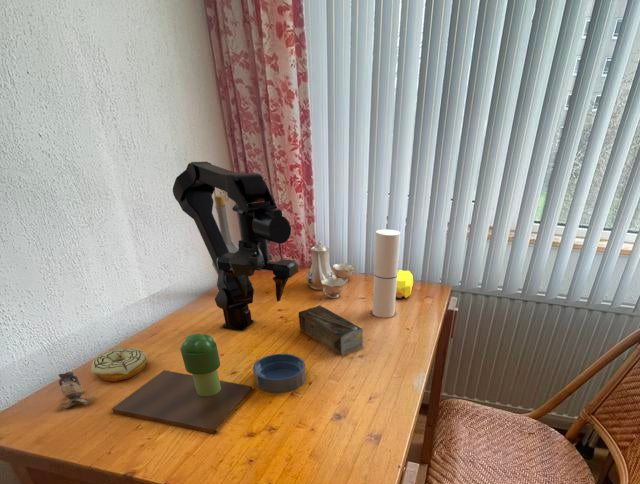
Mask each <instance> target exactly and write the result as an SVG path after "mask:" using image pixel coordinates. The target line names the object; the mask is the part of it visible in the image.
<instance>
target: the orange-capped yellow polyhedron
mask: <svg viewBox="0 0 640 484" xmlns="http://www.w3.org/2000/svg"><path fill="white" fill-rule="evenodd" d="M413 285H414V277H413V274H412V273H411V271H410V270H403V269H398V273H397V286H396V298H398V299H402V298H403V297H404V298H405V299H408V297H410V296H411V294H412V291H413V290H412V289H413Z"/></svg>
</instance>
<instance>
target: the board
mask: <svg viewBox="0 0 640 484" xmlns="http://www.w3.org/2000/svg"><path fill="white" fill-rule="evenodd" d="M219 381H220V385H221V390H220V391H219V392H218V393H217V394H215V395H212V396H200V395H198V393H197V391H196V387H195V383H194V379H193V376H192V374H189V373H188V374H186V373H181V372H177V371H171V370H165V369H163V370H162V371H161V372H159V373H158V374H157V375H155V376H154V377H153V378H151V379H150V380H148V381H147V382H146V383H144V384H143V385H141V386H140V387H139V388H137V389H136V390H135V391H133V392H132V393H131V394H129V395H128V396H126V397H125V398H124V399H122V401H120V402H118V403H117V404H115V405H114V406H113V407H112V408H111V411H112V413H113V414H115V415H120V416H126V417H129V418H135V419H139V420H144V421H150V422H153V423H154V422H155V423H158V424H164V425H167V426H172V427H173V426H174V427H177V428H182V429H183V428H184V429H188V430H191V431H192V430H193V431H198V432H202V433H208V434H212V435H215V434H216V432H217V429H218V428H219V427H220V426H221V425H222V423H224V422H225V420H227V418H228V417H229V416H230V415H231V414H232V413H233V412H234V410H235V409H236V408H237V407H238V406H239V405H240V404H241V403H242V402H243V401H244V399H246V397H247V396H248V395H249V394H250V393H251V392H252V390H253V389H254V387H253V386H252V385H247V384H241V383H238V382H237V383H236V382H230V381H225V380H220V379H219Z"/></svg>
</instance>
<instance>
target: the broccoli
mask: <svg viewBox="0 0 640 484" xmlns="http://www.w3.org/2000/svg"><path fill="white" fill-rule="evenodd" d="M180 353H181V357H182V361H183V364H184V368H185V371H186V372H187V373H188V374H190V375H192V376H193V379H194V383H195V387H196V391H197V393H198V395H200V396H212V395H215V394H217V393H218V392H219V391H220V390H221V385H220V381H221V380H220V376H219V373H218V369H219V368H220V367H221V360H220V355H219V351H218V345H217V343H216V341H215V340H214V337H212V336H211V335H209V334H208V333H203V334H201V333H192V334H189V335H187V336H186V338H185V339H184V341H183V342H182V343H181V346H180ZM219 380H220V381H219Z"/></svg>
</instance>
